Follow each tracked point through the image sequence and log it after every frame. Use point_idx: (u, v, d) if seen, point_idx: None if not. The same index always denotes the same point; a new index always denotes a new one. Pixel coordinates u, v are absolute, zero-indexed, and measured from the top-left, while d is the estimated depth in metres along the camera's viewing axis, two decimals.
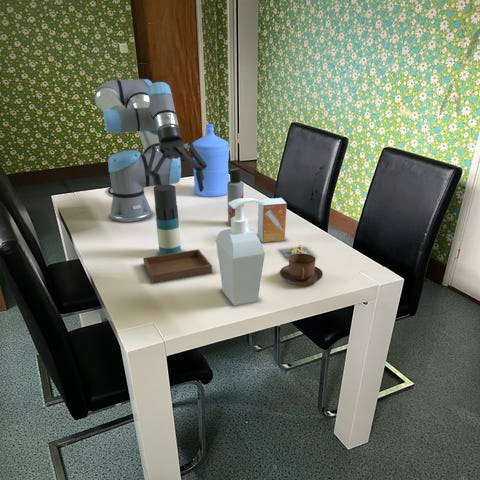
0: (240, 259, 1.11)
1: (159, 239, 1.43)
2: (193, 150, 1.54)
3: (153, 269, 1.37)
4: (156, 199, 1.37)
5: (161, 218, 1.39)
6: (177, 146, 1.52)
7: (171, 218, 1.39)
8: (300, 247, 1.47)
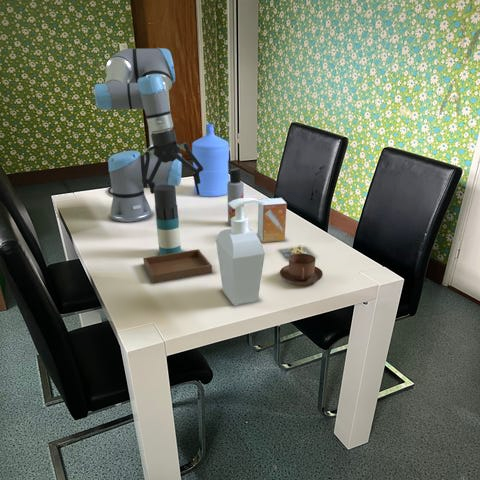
0: (240, 259, 1.11)
1: (159, 239, 1.43)
2: (189, 153, 1.47)
3: (153, 269, 1.37)
4: (156, 199, 1.37)
5: (161, 218, 1.39)
6: (171, 152, 1.45)
7: (171, 218, 1.39)
8: (300, 247, 1.47)
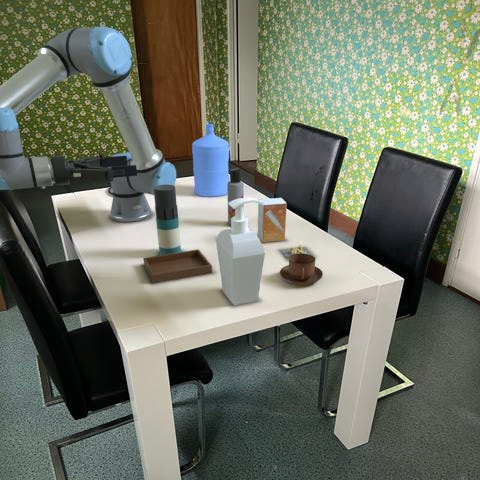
0: (240, 259, 1.11)
1: (159, 239, 1.43)
2: None
3: (153, 269, 1.37)
4: (156, 199, 1.37)
5: (161, 218, 1.39)
6: None
7: (171, 218, 1.39)
8: (300, 247, 1.47)
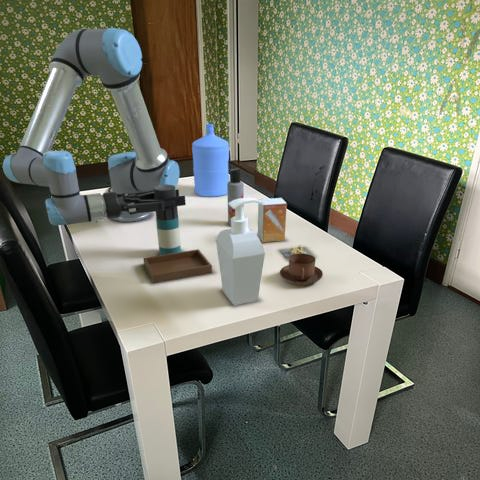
0: (240, 259, 1.11)
1: (159, 239, 1.43)
2: None
3: (153, 269, 1.37)
4: (156, 199, 1.37)
5: (161, 218, 1.39)
6: None
7: (171, 218, 1.39)
8: (300, 247, 1.47)
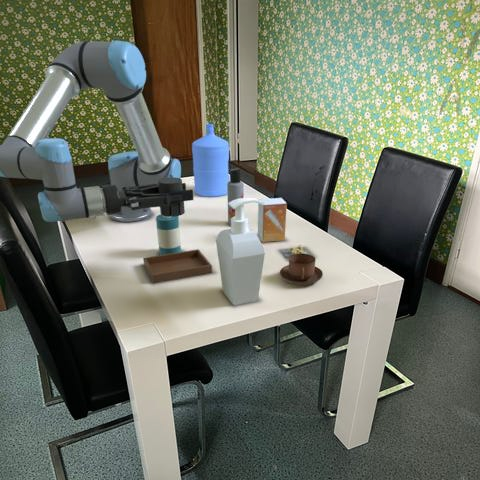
0: (240, 259, 1.11)
1: (159, 239, 1.43)
2: None
3: (153, 269, 1.37)
4: (161, 193, 1.24)
5: (166, 214, 1.26)
6: None
7: (177, 214, 1.26)
8: (300, 247, 1.47)
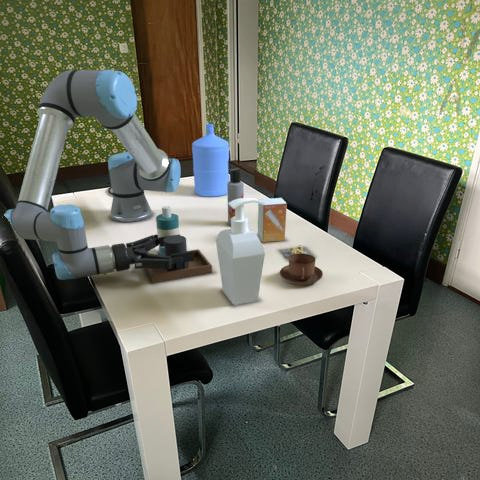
0: (240, 259, 1.11)
1: None
2: None
3: (153, 269, 1.37)
4: (166, 251, 1.33)
5: (171, 270, 1.35)
6: None
7: None
8: (300, 247, 1.47)
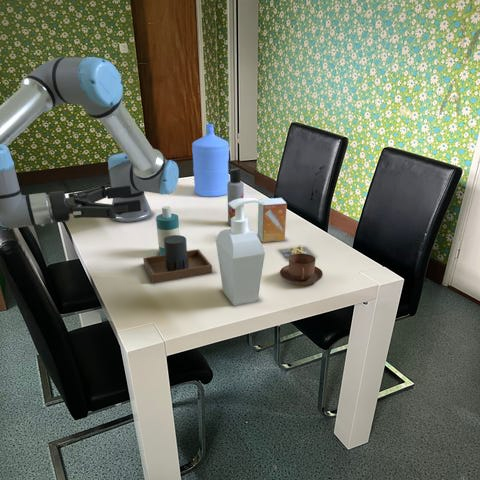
0: (240, 259, 1.11)
1: (159, 239, 1.43)
2: None
3: (153, 269, 1.37)
4: (166, 251, 1.33)
5: (171, 270, 1.35)
6: None
7: None
8: (300, 247, 1.47)
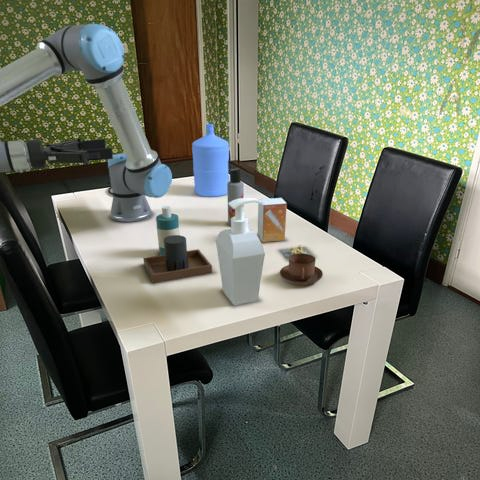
0: (240, 259, 1.11)
1: (159, 239, 1.43)
2: None
3: (153, 269, 1.37)
4: (166, 251, 1.33)
5: (171, 270, 1.35)
6: None
7: None
8: (300, 247, 1.47)
